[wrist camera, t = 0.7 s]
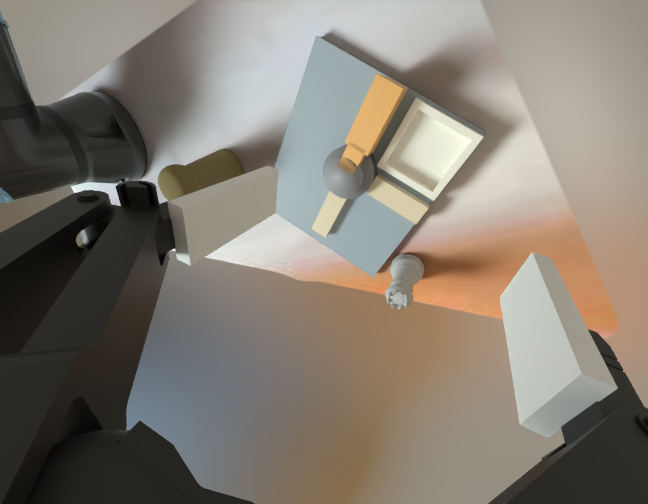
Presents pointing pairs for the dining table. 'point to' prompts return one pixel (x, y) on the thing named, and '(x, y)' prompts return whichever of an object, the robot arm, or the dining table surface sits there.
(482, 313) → the dining table surface
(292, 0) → the dining table surface
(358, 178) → the hinged leg
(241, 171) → the brown pawn piece
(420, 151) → the socket
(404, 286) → the rook chess piece
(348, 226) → the base plate with blocks
